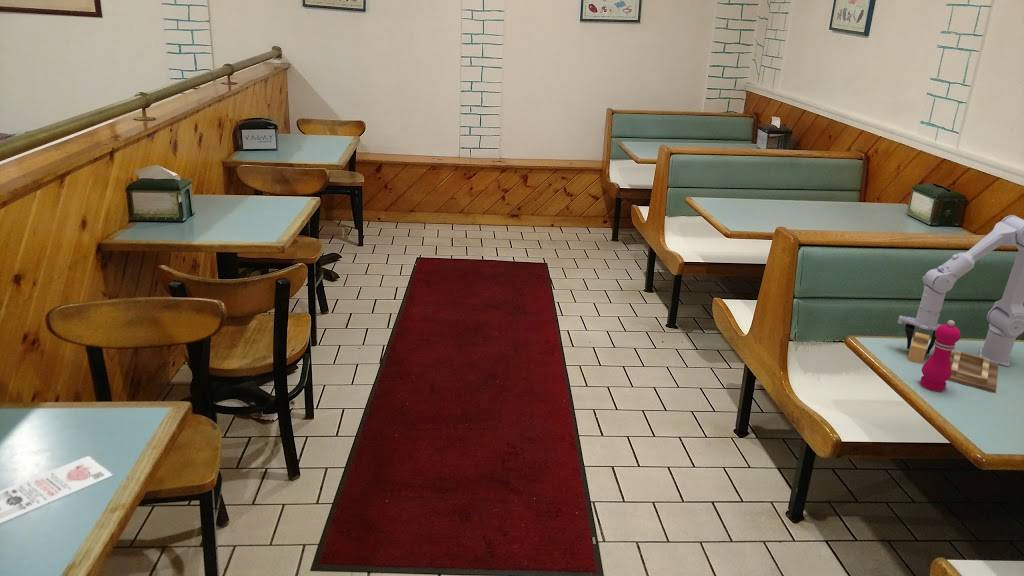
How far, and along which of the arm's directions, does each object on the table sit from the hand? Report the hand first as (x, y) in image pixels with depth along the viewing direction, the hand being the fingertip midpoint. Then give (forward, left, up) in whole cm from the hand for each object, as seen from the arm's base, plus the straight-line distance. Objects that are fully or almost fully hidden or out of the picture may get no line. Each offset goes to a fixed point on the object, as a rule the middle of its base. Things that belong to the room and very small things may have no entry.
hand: (918, 350), depth 230 cm
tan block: (0, 0, -2) cm, 2 cm away
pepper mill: (+20, +6, -2) cm, 21 cm away
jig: (+3, +14, -1) cm, 14 cm away
